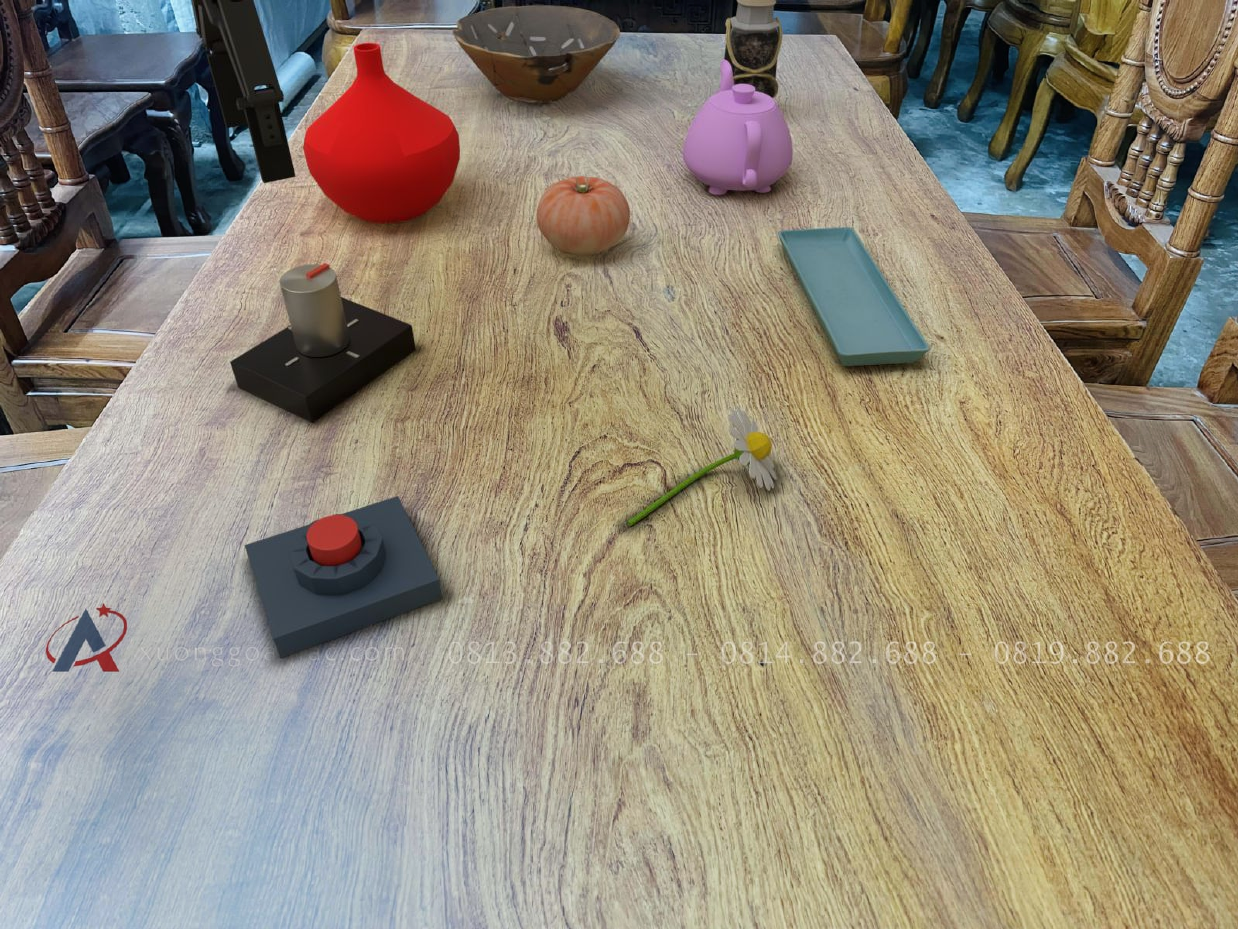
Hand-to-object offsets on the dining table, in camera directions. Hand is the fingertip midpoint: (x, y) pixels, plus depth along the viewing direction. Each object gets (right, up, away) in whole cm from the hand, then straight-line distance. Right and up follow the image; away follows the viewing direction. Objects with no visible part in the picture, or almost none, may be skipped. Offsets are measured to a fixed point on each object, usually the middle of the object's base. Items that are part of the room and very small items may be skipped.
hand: (259, 150), depth 85 cm
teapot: (+48, +10, +41) cm, 63 cm away
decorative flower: (+41, -31, -6) cm, 52 cm away
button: (+12, -35, -16) cm, 40 cm away
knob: (+4, -17, +5) cm, 18 cm away
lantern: (+51, +24, +56) cm, 80 cm away
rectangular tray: (+57, -11, +17) cm, 60 cm away
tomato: (+28, -3, +26) cm, 39 cm away
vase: (+4, +4, +33) cm, 34 cm away
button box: (+12, -37, -14) cm, 41 cm away
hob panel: (+4, -19, +7) cm, 21 cm away
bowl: (+20, +29, +63) cm, 72 cm away
